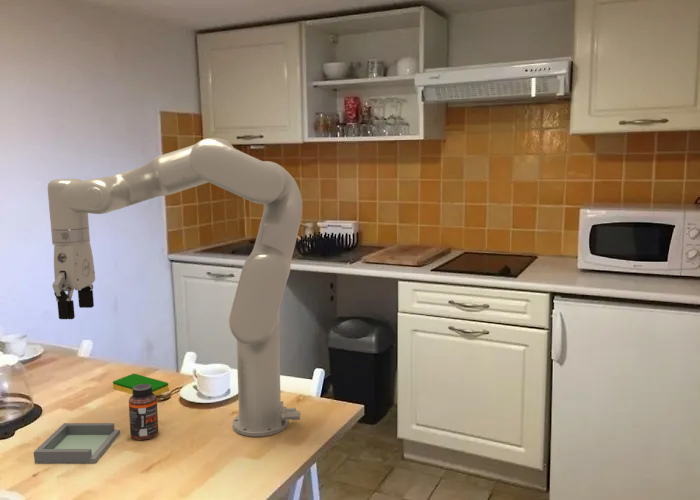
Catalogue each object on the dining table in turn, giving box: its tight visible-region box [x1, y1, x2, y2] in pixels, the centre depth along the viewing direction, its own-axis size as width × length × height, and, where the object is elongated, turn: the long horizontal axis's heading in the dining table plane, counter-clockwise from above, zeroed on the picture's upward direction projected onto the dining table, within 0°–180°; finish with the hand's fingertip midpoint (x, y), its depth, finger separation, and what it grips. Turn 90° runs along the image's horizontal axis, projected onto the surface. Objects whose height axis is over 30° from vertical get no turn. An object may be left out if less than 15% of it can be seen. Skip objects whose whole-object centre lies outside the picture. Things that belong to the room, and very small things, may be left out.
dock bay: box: [33, 422, 121, 464], centre depth 135 cm, size 12×13×2 cm
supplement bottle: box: [128, 384, 159, 441], centre depth 140 cm, size 6×6×11 cm
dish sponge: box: [112, 373, 170, 397], centre depth 167 cm, size 7×14×2 cm, turn 58°
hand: (77, 312), depth 140 cm, fingers open, 9 cm apart
